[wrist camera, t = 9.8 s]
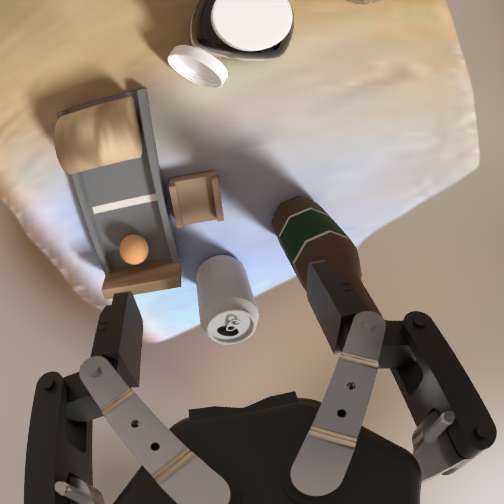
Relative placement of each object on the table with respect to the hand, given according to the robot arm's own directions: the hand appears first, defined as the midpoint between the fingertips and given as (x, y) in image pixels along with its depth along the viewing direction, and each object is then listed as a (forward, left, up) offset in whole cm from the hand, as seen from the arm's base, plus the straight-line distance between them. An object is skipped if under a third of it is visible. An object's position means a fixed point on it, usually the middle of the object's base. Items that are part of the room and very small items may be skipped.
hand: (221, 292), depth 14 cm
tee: (+6, -1, -28) cm, 28 cm away
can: (+19, 0, -28) cm, 34 cm away
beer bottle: (+12, +12, -28) cm, 33 cm away
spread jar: (-13, +4, -28) cm, 31 cm away
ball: (+11, -10, -25) cm, 29 cm away
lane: (+3, -11, -28) cm, 30 cm away
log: (-5, -11, -28) cm, 30 cm away
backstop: (+16, -11, -28) cm, 33 cm away
